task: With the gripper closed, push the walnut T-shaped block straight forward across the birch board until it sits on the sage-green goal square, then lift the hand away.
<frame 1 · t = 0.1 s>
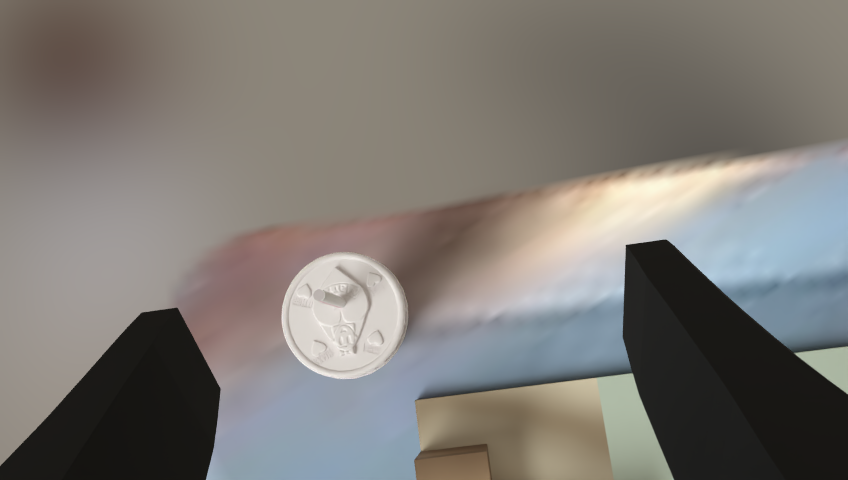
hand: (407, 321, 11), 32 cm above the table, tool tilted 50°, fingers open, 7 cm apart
smoothie: (376, 323, 43), on the table
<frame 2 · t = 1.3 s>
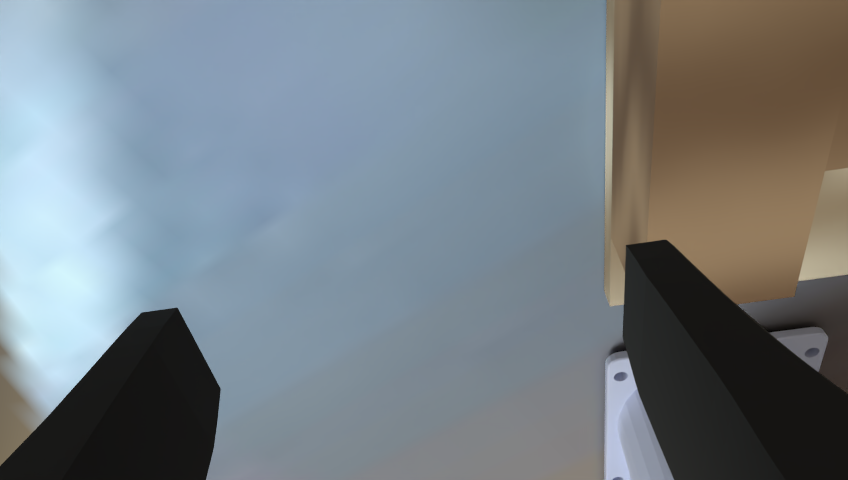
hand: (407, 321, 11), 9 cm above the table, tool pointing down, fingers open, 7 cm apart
t block: (833, 21, 17), point 1 cm above the table, touching board
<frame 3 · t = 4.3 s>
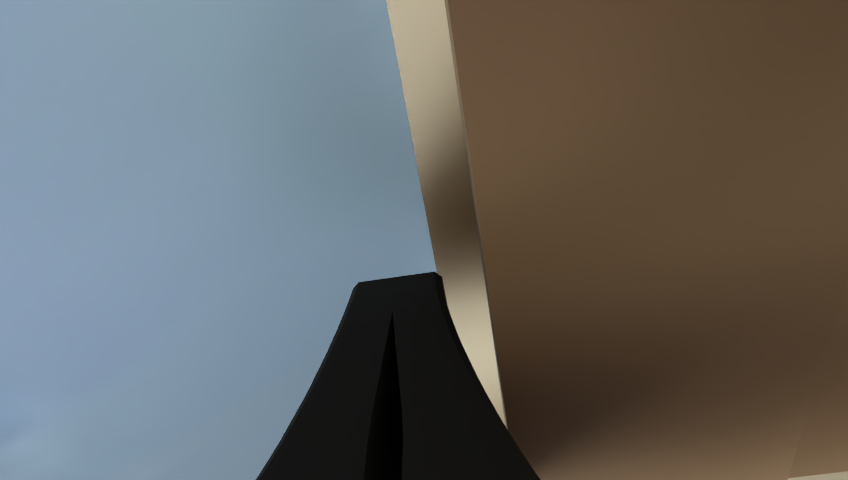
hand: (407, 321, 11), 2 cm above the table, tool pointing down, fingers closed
t block: (804, 217, 11), point 1 cm above the table, touching gripper
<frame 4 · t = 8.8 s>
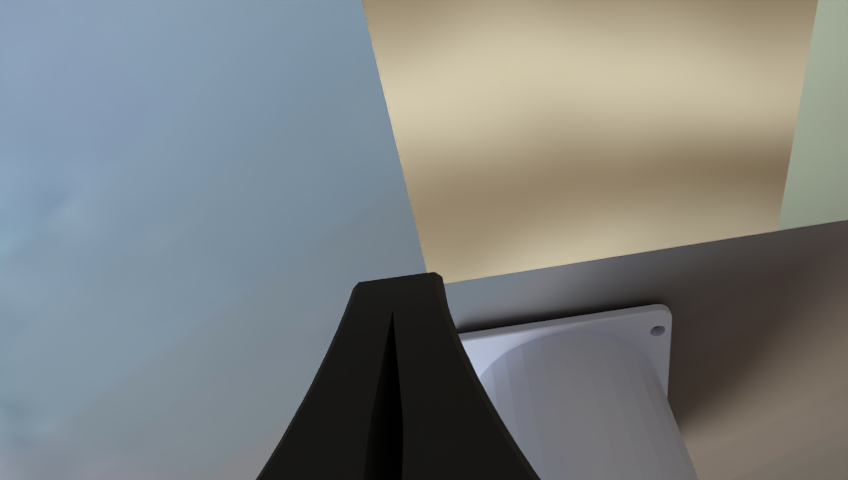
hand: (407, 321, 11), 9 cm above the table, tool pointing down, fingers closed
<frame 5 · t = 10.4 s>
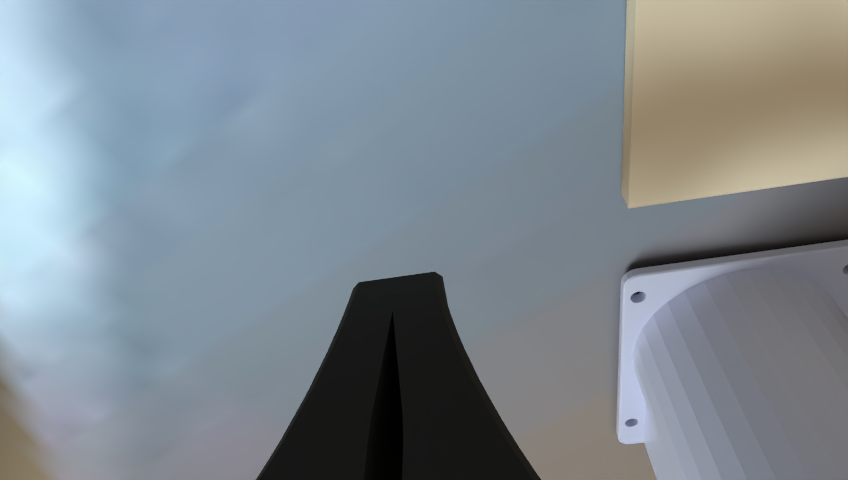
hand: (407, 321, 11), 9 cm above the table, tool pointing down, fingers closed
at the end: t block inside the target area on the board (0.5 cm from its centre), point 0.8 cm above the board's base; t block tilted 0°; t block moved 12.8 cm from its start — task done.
